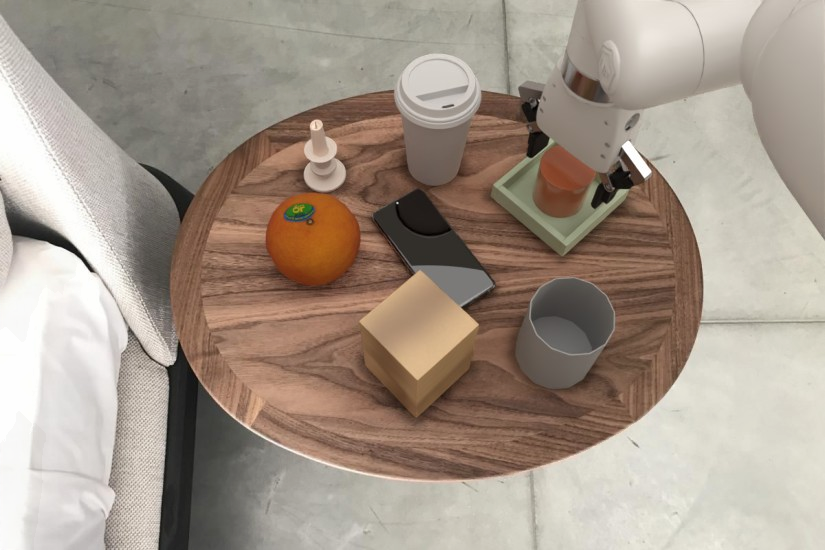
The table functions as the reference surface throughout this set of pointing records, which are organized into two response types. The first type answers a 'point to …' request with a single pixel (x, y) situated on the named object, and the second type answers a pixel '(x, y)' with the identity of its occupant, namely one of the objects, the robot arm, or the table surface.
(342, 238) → the fruit
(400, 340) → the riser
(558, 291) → the cup
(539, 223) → the tray
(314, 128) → the candle
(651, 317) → the table surface
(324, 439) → the table surface
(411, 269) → the smartphone
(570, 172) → the orange cylinder puck
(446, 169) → the coffee cup
